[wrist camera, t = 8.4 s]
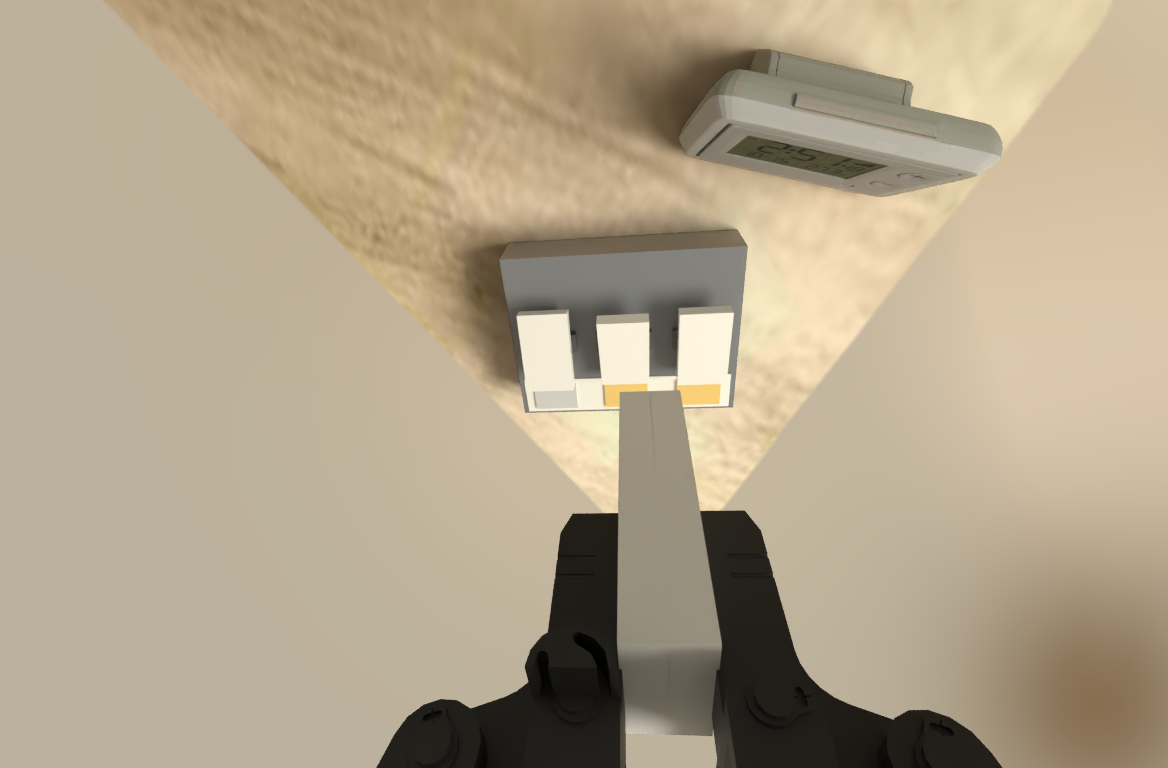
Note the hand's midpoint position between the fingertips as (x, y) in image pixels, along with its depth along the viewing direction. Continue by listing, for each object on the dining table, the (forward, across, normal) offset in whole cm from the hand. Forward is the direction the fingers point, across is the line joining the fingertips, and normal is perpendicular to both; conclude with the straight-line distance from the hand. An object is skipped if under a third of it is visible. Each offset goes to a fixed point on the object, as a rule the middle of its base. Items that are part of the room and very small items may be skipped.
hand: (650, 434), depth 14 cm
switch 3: (+25, +5, -11) cm, 28 cm away
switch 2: (+25, -1, -11) cm, 27 cm away
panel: (+30, -1, -11) cm, 32 cm away
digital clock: (+31, +11, +2) cm, 33 cm away
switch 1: (+25, -7, -11) cm, 28 cm away
